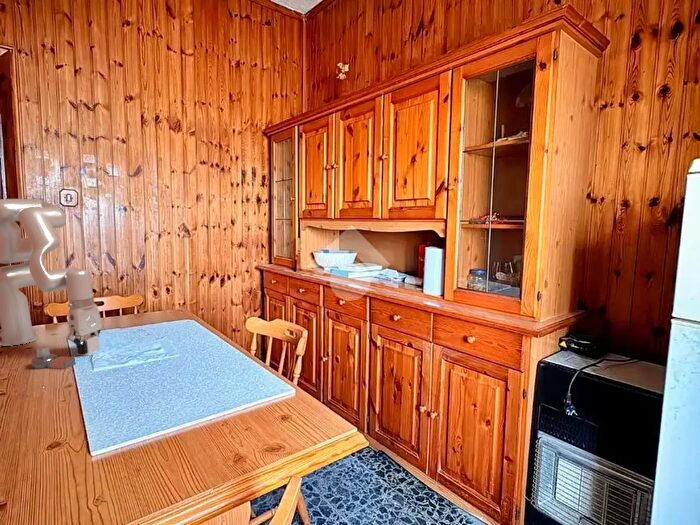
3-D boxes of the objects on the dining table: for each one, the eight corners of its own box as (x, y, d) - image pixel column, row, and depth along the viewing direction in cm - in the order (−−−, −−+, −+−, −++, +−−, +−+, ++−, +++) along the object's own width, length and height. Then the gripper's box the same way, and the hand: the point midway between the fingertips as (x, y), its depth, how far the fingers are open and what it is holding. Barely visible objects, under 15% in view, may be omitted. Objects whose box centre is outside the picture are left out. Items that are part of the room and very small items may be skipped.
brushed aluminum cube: (77, 355, 147) (75, 339, 146) (88, 350, 152) (86, 334, 151) (89, 355, 146) (86, 339, 145) (100, 350, 151) (97, 335, 150)
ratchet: (79, 362, 140) (76, 345, 139) (61, 371, 133) (58, 352, 132) (46, 360, 143) (43, 343, 142) (27, 368, 136) (24, 351, 135)
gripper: (69, 309, 137) (77, 360, 140) (109, 297, 154) (115, 343, 156) (51, 309, 139) (59, 359, 141) (92, 297, 155) (98, 342, 158)
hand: (88, 350), depth 149 cm, fingers closed on brushed aluminum cube, 5 cm apart
